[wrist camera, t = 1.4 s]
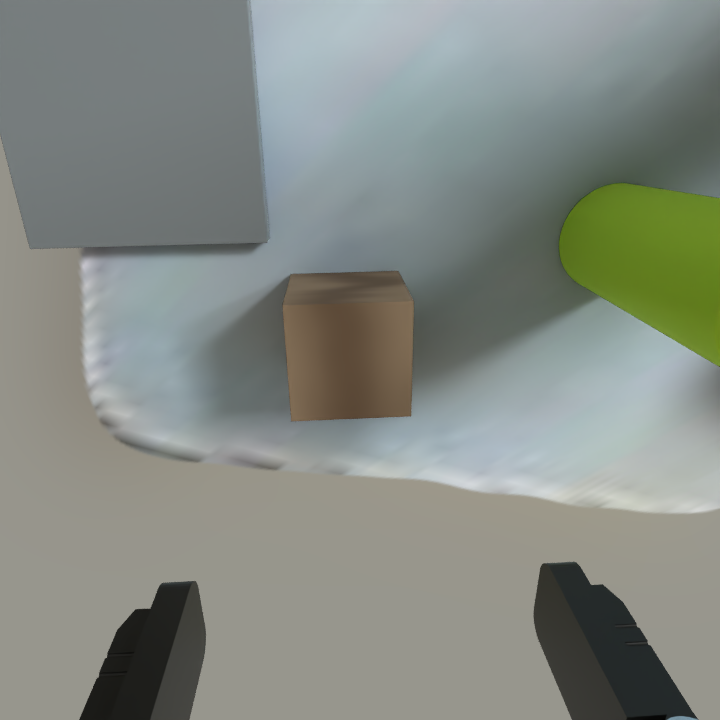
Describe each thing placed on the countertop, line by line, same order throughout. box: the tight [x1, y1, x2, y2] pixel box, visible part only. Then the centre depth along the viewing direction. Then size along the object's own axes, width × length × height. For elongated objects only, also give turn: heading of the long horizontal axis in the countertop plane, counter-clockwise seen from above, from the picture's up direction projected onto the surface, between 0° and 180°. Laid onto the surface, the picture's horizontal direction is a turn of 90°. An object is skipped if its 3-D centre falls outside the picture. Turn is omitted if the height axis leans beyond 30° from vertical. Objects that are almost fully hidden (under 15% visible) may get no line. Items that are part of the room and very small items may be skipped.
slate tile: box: [0, 0, 270, 249], centre depth 25 cm, size 12×12×1 cm
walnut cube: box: [282, 271, 414, 421], centre depth 28 cm, size 6×6×6 cm
